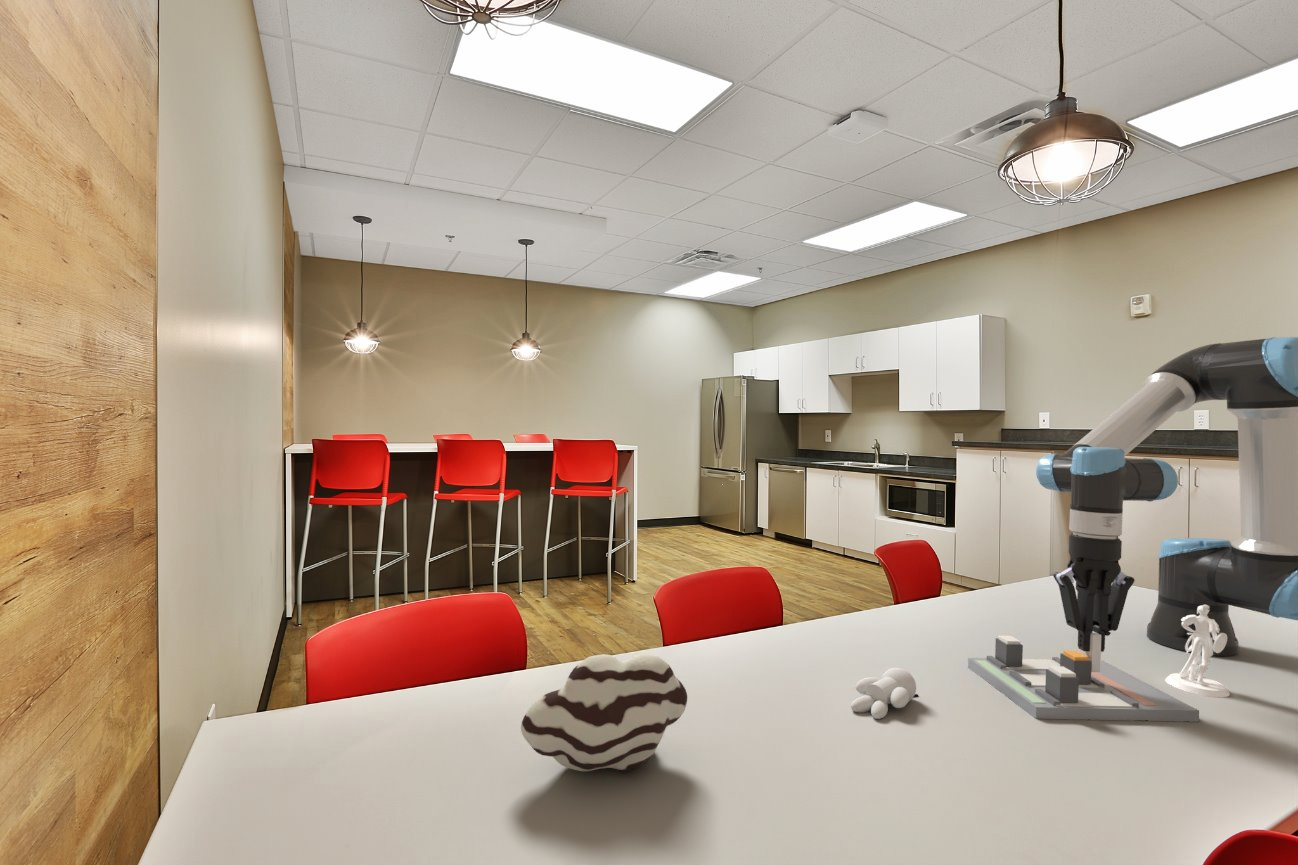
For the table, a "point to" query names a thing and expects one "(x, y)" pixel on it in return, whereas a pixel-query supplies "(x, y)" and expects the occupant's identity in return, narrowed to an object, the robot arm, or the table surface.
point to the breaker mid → (1077, 665)
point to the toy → (884, 692)
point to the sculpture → (606, 713)
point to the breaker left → (1009, 651)
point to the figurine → (1206, 646)
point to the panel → (1083, 693)
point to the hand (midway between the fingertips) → (1090, 669)
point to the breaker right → (1062, 684)
